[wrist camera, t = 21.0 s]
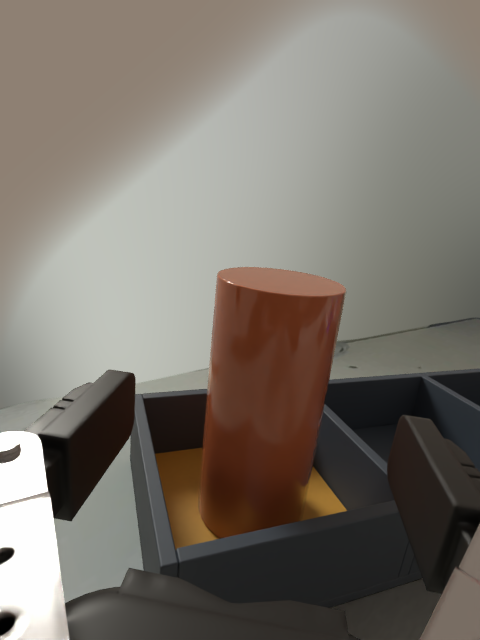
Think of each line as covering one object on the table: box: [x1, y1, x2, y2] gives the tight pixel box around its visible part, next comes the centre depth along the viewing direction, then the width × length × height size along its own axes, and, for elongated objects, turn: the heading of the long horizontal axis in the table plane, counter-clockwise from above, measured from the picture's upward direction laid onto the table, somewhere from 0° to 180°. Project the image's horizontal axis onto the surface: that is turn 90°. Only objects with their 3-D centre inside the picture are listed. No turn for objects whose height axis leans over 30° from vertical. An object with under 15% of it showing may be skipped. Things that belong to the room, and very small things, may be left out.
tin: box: [198, 267, 346, 539], centre depth 18 cm, size 6×6×12 cm
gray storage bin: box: [130, 369, 480, 608], centre depth 23 cm, size 32×11×4 cm, turn 109°
